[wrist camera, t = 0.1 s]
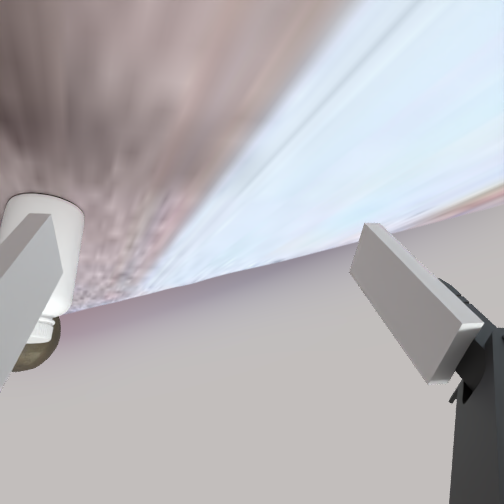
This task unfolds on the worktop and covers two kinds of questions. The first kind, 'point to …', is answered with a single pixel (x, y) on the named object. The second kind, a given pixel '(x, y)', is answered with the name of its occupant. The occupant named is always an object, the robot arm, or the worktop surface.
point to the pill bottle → (69, 243)
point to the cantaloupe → (38, 350)
